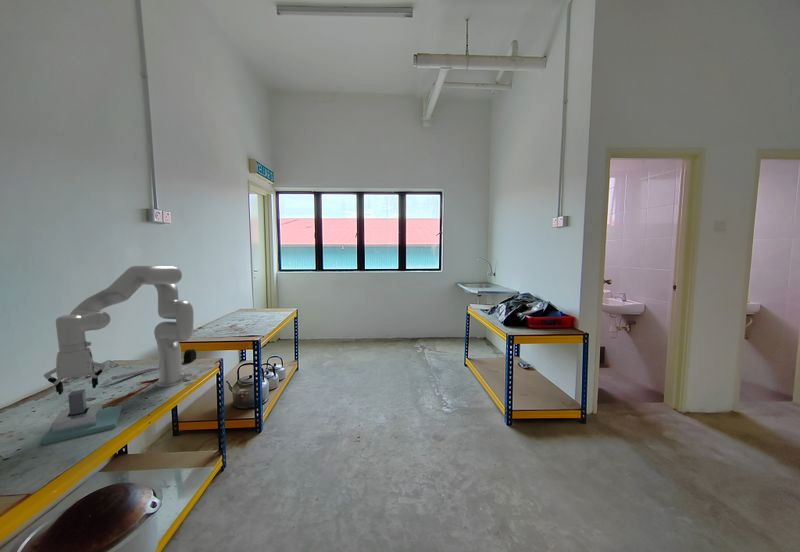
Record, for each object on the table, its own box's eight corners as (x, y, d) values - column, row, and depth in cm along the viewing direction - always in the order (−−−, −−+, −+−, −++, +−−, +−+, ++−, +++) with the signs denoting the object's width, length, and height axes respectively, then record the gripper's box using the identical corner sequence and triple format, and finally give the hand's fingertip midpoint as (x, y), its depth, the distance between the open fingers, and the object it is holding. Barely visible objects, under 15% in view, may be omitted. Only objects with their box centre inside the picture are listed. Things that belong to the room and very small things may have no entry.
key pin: (87, 418, 134) (85, 389, 133) (85, 422, 131) (82, 393, 130) (73, 421, 132) (71, 391, 131) (71, 425, 129) (68, 395, 128)
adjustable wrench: (113, 380, 170) (113, 376, 170) (105, 379, 172) (105, 375, 172) (163, 369, 193) (163, 365, 193) (155, 368, 195) (155, 365, 195)
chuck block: (122, 409, 146) (121, 396, 145) (115, 428, 131) (114, 413, 130) (58, 422, 135) (56, 408, 135) (42, 445, 120) (41, 428, 119)
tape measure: (191, 364, 200) (190, 351, 200) (183, 365, 200) (182, 351, 199) (201, 356, 215) (201, 344, 214) (194, 357, 214) (193, 344, 213)
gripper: (104, 340, 137) (109, 381, 139) (44, 348, 127) (50, 391, 130) (100, 346, 130) (105, 388, 133) (37, 354, 121) (43, 399, 123)
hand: (78, 390), depth 131 cm, fingers open, 9 cm apart
